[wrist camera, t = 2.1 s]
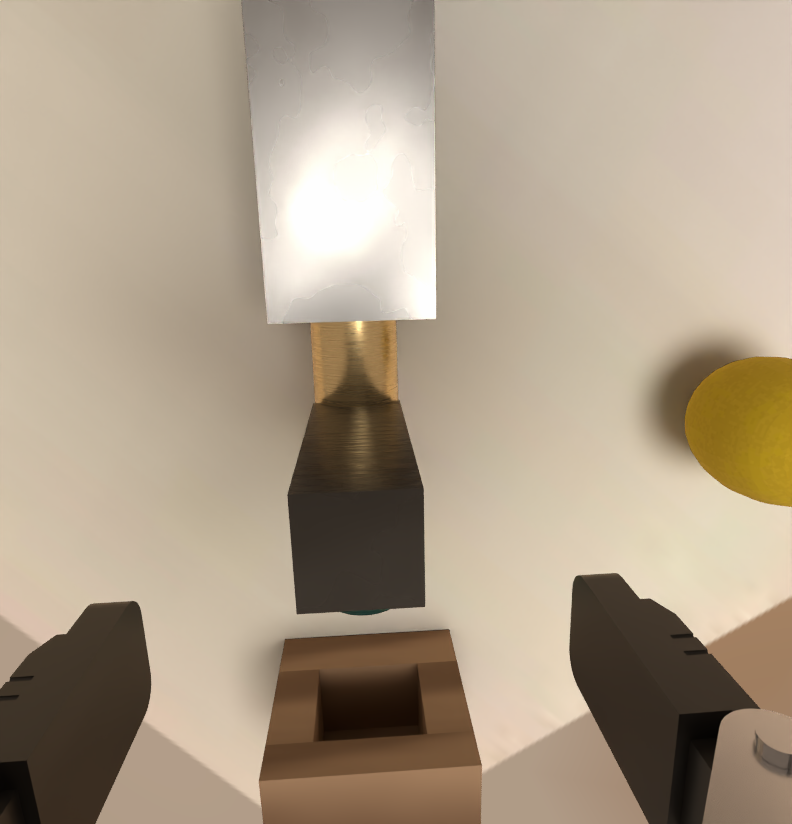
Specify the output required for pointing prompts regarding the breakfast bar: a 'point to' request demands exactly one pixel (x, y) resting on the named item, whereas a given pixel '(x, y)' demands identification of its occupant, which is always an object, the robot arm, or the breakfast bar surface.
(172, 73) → the breakfast bar surface
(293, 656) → the socket
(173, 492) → the breakfast bar surface
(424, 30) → the sleeve
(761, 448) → the lemon
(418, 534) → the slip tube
